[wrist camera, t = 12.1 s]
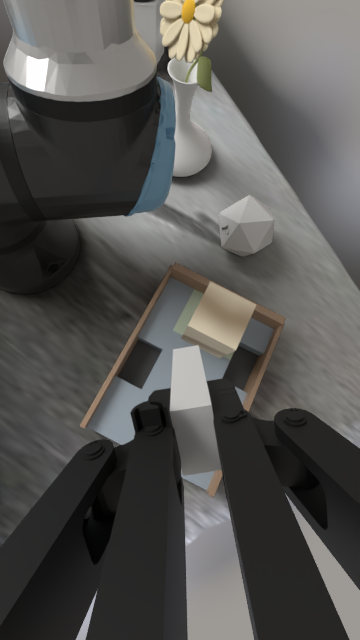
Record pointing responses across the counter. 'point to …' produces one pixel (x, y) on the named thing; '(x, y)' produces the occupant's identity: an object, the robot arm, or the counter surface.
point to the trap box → (157, 355)
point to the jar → (150, 24)
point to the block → (219, 321)
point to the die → (246, 226)
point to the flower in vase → (189, 73)
